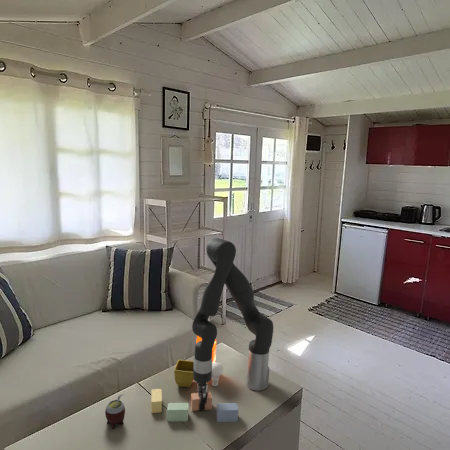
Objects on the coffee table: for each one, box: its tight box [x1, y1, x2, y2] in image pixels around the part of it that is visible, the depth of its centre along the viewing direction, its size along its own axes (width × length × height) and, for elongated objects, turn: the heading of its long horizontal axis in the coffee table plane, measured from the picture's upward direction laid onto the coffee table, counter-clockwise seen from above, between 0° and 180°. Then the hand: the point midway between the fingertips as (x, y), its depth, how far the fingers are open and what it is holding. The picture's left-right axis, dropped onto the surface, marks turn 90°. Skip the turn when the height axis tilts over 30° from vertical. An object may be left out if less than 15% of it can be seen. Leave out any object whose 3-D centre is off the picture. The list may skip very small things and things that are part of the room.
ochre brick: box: [150, 388, 163, 414], centre depth 143 cm, size 8×4×5 cm, turn 12°
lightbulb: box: [211, 361, 224, 387], centre depth 158 cm, size 6×6×11 cm
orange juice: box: [195, 335, 217, 380], centre depth 166 cm, size 8×9×20 cm
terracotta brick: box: [190, 391, 213, 412], centre depth 144 cm, size 8×4×5 cm, turn 102°
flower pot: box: [173, 359, 194, 388], centre depth 158 cm, size 9×9×9 cm
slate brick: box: [215, 402, 239, 423], centre depth 138 cm, size 8×4×5 cm, turn 96°
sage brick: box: [166, 402, 189, 422], centre depth 137 cm, size 8×4×5 cm, turn 95°
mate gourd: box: [104, 393, 126, 430], centre depth 131 cm, size 8×8×15 cm
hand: (201, 405), depth 144 cm, fingers closed on terracotta brick, 4 cm apart
